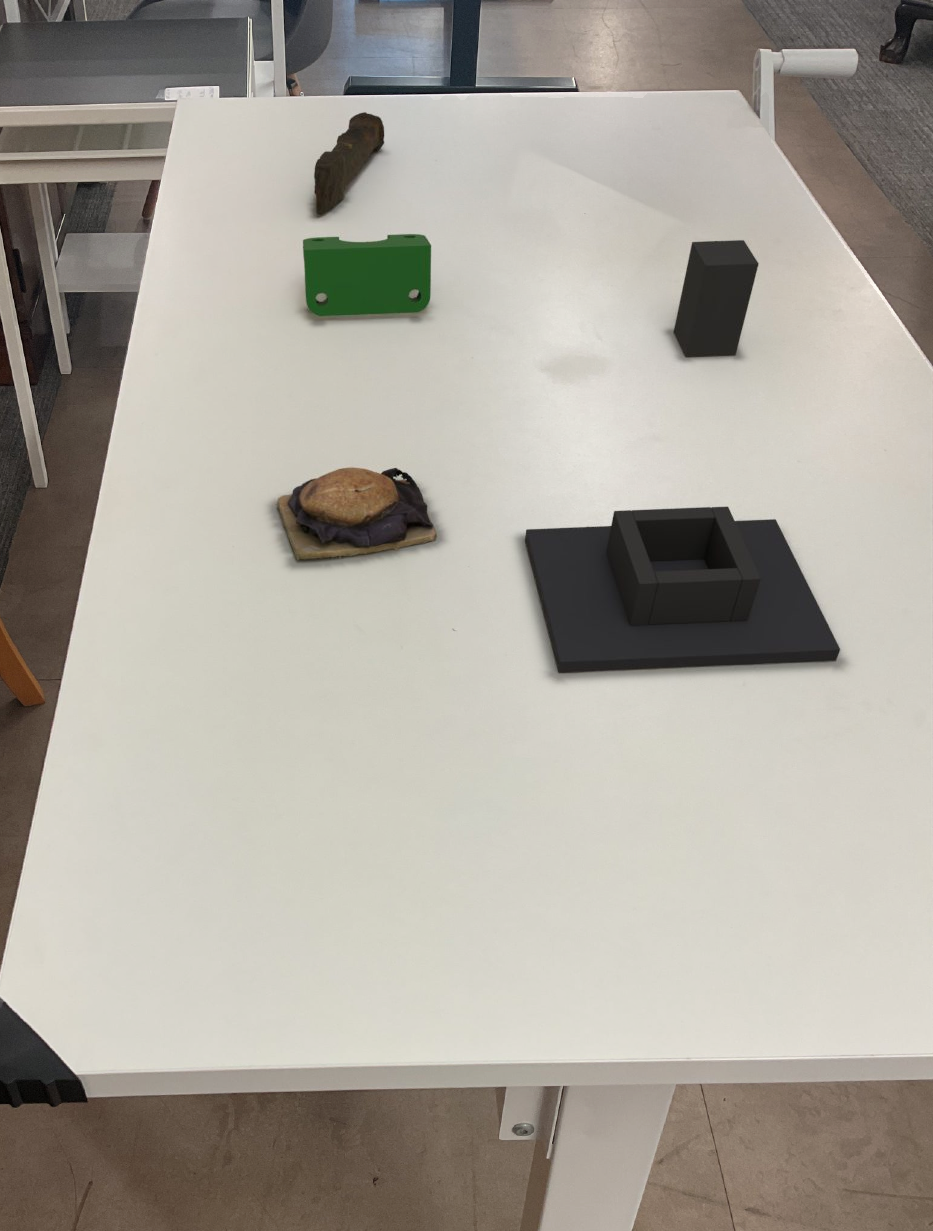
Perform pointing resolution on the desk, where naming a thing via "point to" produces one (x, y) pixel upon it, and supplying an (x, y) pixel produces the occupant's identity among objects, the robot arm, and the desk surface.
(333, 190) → the dark brown lumpy bar
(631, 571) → the base pad
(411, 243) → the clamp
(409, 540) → the bread roll
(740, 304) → the rectangular block
